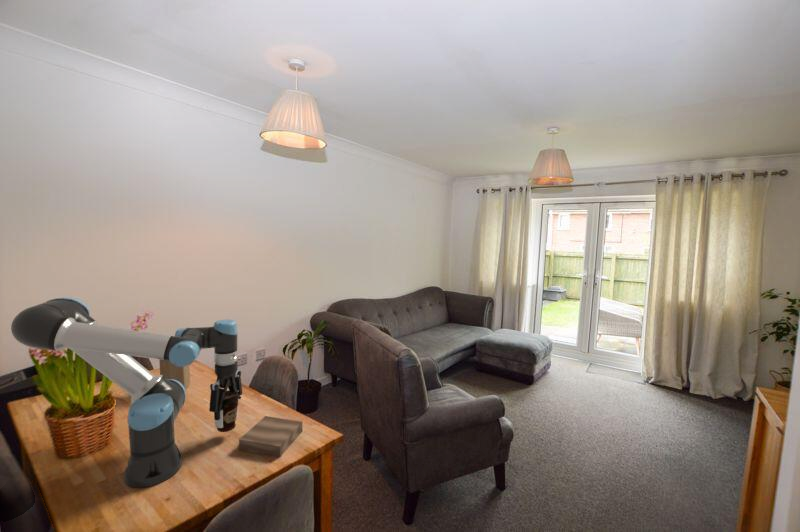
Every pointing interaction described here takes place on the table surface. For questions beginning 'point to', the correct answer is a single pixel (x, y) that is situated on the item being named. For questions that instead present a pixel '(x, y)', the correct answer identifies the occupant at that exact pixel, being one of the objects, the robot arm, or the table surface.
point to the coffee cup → (229, 411)
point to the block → (175, 372)
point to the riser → (271, 436)
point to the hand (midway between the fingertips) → (226, 421)
